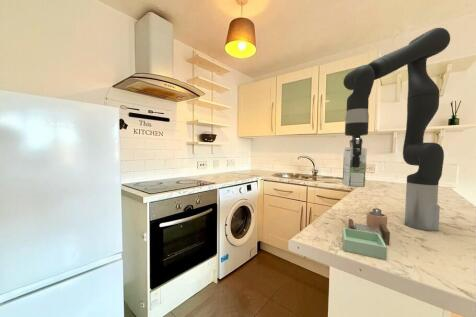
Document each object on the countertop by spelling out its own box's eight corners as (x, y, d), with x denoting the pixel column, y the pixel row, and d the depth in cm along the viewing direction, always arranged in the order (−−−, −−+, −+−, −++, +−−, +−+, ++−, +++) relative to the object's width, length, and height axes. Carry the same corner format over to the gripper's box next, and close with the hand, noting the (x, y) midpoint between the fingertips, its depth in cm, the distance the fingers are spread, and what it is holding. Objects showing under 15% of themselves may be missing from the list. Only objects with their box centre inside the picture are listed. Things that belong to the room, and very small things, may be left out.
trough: (378, 244, 63) (379, 233, 63) (386, 259, 54) (387, 247, 54) (342, 237, 67) (342, 227, 67) (343, 250, 58) (344, 239, 58)
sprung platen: (377, 229, 70) (377, 226, 70) (381, 237, 63) (382, 234, 63) (354, 225, 73) (354, 223, 73) (356, 232, 66) (356, 229, 66)
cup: (383, 228, 76) (384, 213, 76) (387, 234, 70) (388, 217, 70) (365, 225, 78) (366, 210, 78) (367, 231, 73) (368, 215, 73)
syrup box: (357, 184, 78) (358, 147, 78) (365, 187, 72) (367, 147, 72) (342, 184, 79) (343, 147, 78) (348, 186, 73) (350, 147, 72)
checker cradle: (383, 235, 69) (384, 223, 69) (389, 245, 62) (389, 232, 62) (348, 229, 74) (348, 218, 74) (349, 238, 67) (350, 226, 67)
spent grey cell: (379, 227, 75) (380, 207, 75) (381, 229, 73) (382, 209, 72) (371, 225, 76) (371, 206, 76) (372, 228, 74) (373, 208, 73)
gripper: (371, 119, 66) (369, 168, 67) (365, 124, 79) (364, 165, 80) (346, 120, 70) (344, 167, 70) (344, 125, 82) (343, 165, 83)
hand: (354, 166), depth 75 cm, fingers closed on syrup box, 7 cm apart
